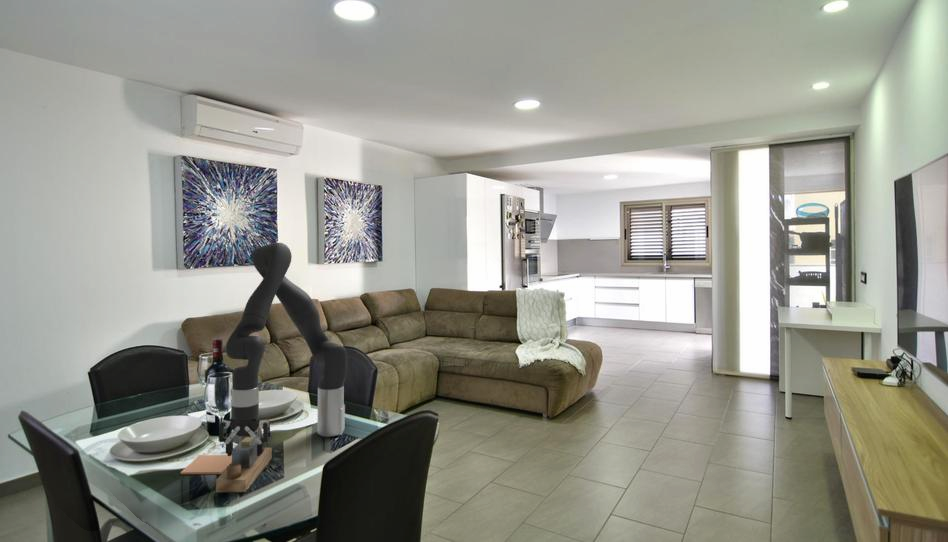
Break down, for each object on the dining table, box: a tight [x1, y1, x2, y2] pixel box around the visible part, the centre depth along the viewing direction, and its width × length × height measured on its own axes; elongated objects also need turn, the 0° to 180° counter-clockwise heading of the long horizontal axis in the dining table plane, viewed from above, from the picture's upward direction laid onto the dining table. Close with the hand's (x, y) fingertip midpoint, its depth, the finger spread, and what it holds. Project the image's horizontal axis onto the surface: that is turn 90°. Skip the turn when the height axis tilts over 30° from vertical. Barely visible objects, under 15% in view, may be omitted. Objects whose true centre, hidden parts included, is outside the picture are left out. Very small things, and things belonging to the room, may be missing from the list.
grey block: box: [232, 437, 259, 469], centre depth 151 cm, size 5×8×6 cm, turn 4°
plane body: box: [215, 447, 273, 493], centre depth 151 cm, size 8×22×6 cm, turn 4°
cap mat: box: [180, 454, 232, 475], centre depth 157 cm, size 12×12×1 cm
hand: (244, 455), depth 151 cm, fingers open, 8 cm apart
